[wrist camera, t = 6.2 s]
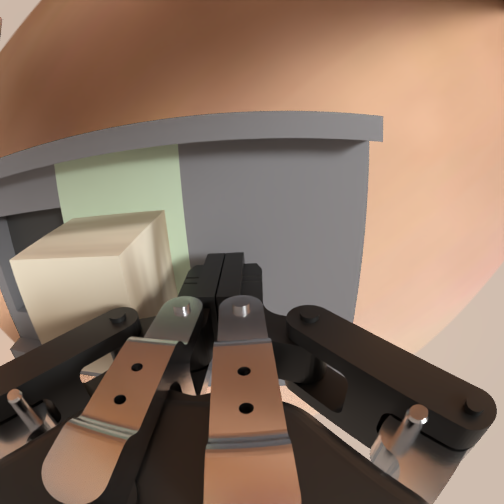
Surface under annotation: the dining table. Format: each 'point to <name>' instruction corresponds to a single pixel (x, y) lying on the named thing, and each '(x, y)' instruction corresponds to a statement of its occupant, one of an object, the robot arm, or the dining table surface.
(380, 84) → the dining table surface
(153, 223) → the maple block
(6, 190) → the trap lane
